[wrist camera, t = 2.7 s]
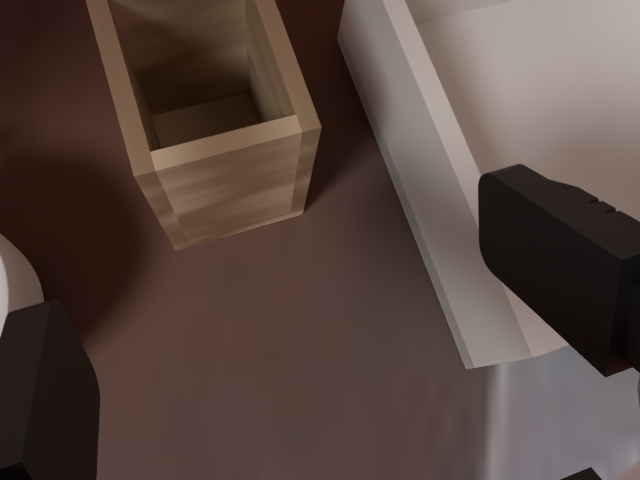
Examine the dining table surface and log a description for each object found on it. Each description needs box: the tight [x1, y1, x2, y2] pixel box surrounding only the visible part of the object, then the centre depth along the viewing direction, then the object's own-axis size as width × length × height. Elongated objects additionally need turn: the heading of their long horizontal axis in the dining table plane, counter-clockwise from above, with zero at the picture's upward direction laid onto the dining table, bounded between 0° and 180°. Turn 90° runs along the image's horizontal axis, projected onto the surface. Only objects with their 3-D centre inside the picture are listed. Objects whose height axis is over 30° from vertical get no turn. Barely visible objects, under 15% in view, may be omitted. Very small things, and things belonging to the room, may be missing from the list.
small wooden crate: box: [86, 0, 321, 251], centre depth 21 cm, size 6×6×8 cm
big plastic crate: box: [337, 0, 640, 369], centre depth 24 cm, size 16×16×6 cm
